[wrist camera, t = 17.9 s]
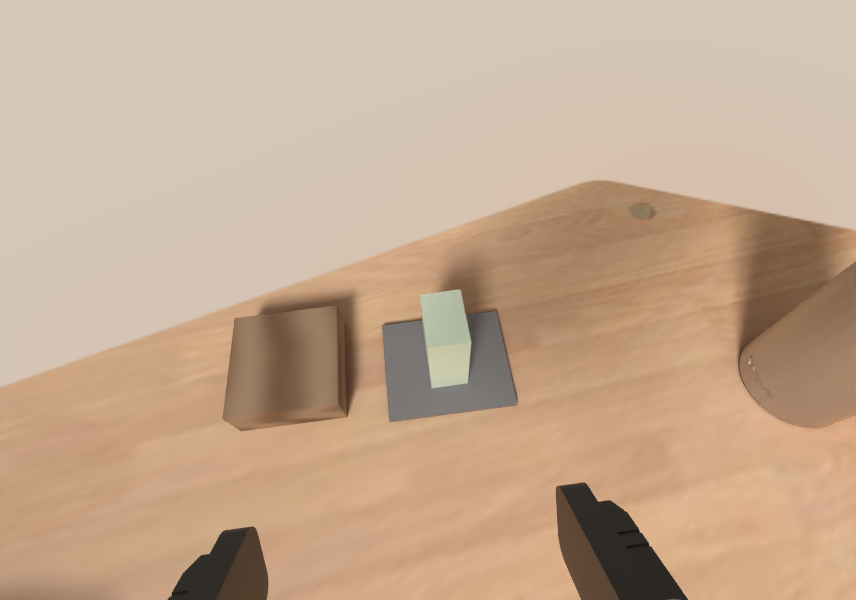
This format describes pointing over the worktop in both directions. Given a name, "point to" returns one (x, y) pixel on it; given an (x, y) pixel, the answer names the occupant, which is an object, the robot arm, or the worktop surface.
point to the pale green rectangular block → (446, 337)
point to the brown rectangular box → (286, 369)
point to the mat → (420, 400)
